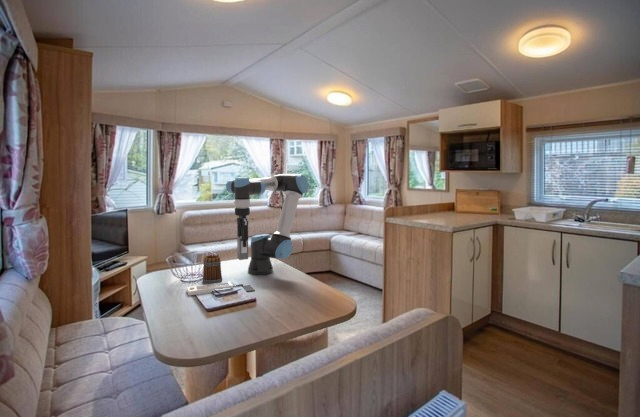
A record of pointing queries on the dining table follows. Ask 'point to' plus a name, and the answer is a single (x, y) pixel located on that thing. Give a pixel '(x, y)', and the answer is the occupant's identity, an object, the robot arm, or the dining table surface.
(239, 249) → the charger
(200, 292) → the power strip
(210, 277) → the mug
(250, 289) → the mat
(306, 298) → the dining table surface
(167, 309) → the dining table surface
